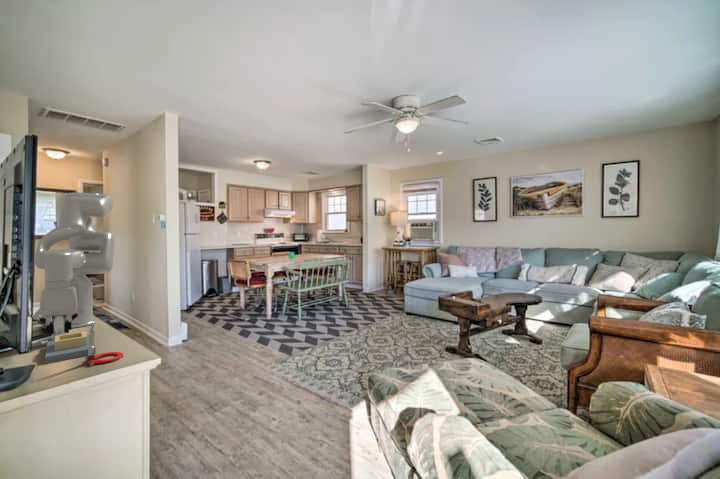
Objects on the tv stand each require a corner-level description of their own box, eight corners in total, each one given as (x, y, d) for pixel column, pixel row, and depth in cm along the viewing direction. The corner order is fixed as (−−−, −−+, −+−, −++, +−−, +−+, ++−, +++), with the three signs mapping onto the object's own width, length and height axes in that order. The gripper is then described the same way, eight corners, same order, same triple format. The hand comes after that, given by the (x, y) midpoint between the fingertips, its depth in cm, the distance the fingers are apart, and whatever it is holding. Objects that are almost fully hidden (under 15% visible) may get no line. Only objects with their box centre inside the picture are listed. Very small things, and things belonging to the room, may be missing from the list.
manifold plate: (47, 347, 110) (47, 333, 110) (91, 339, 118) (91, 326, 118) (45, 363, 97) (45, 347, 97) (95, 353, 105) (95, 339, 105)
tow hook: (119, 353, 107) (84, 360, 100) (121, 316, 107) (86, 320, 100) (126, 360, 102) (89, 368, 95) (128, 321, 102) (92, 325, 95)
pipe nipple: (51, 341, 116) (51, 315, 116) (66, 339, 119) (66, 313, 118) (51, 344, 113) (51, 317, 113) (66, 341, 116) (66, 315, 115)
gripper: (88, 281, 124) (88, 326, 124) (27, 285, 112) (27, 335, 113) (89, 283, 118) (89, 331, 119) (25, 288, 107) (25, 341, 107)
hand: (59, 332), depth 116 cm, fingers closed on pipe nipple, 4 cm apart
